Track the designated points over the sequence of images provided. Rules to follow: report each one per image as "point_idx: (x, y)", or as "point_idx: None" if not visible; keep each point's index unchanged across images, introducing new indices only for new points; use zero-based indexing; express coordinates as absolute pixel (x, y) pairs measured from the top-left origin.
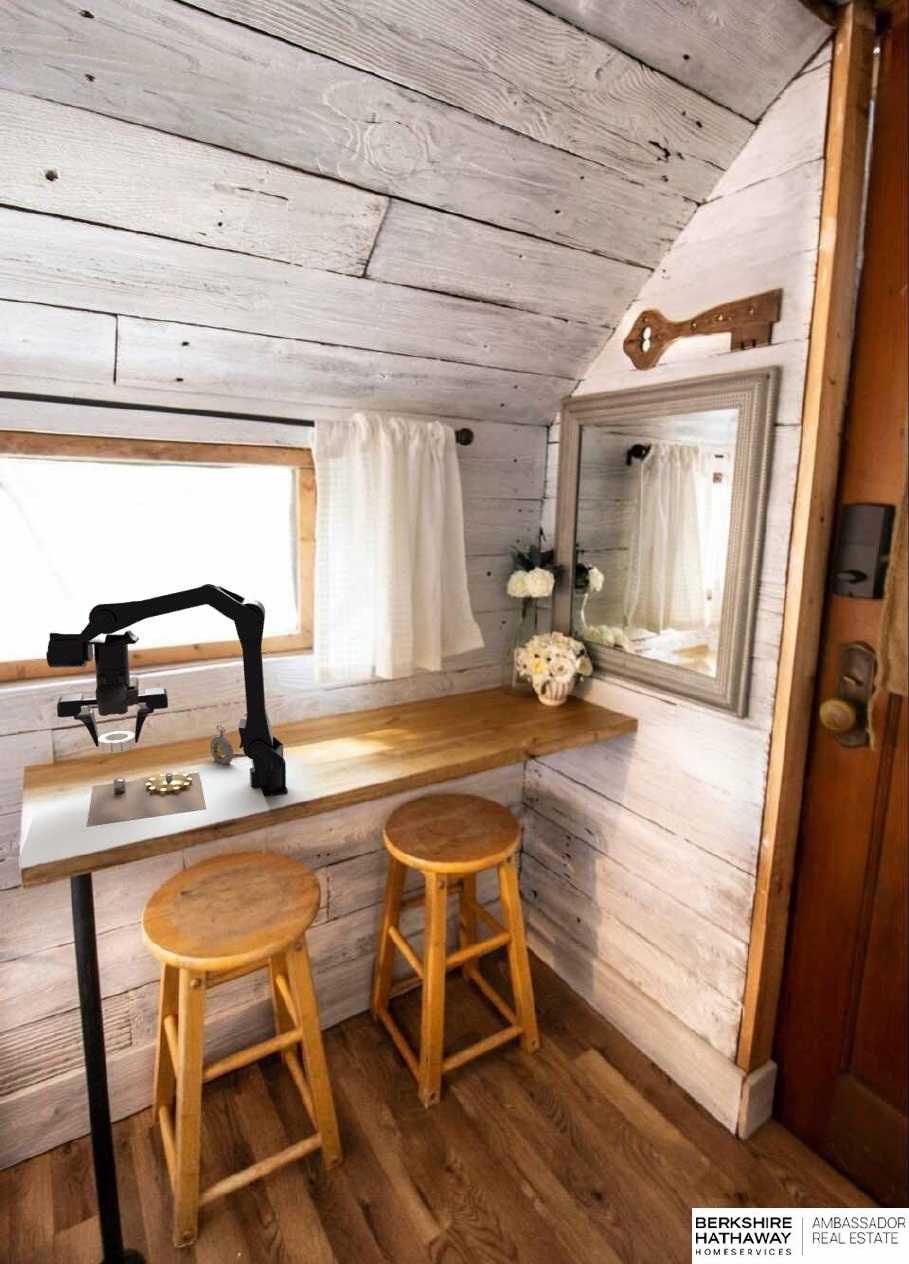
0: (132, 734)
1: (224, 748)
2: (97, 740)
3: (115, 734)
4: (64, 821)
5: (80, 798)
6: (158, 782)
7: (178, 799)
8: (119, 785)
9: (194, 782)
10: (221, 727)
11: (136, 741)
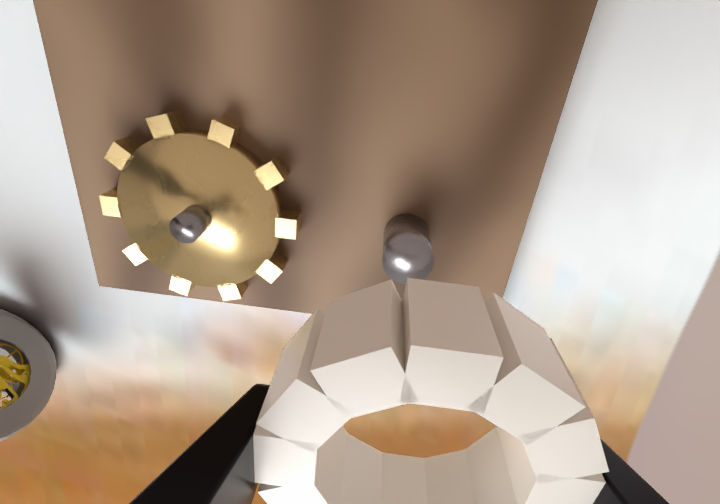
0: (276, 478)
1: None
2: (612, 476)
3: None
4: (654, 104)
5: (535, 294)
6: (243, 225)
7: (157, 26)
8: (410, 230)
9: None
10: None
11: (259, 390)
